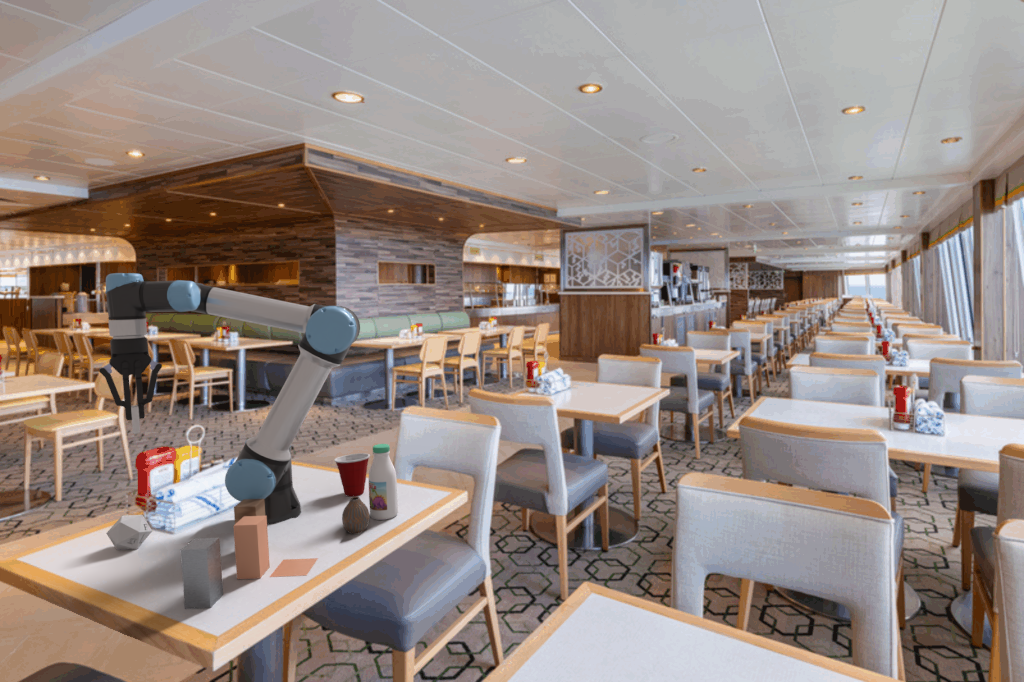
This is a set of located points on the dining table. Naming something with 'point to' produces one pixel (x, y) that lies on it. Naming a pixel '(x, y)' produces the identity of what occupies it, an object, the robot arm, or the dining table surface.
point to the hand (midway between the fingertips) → (136, 432)
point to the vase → (355, 516)
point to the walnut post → (249, 508)
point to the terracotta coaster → (294, 567)
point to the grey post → (201, 573)
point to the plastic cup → (353, 472)
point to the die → (129, 532)
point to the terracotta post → (251, 547)
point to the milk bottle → (382, 485)
